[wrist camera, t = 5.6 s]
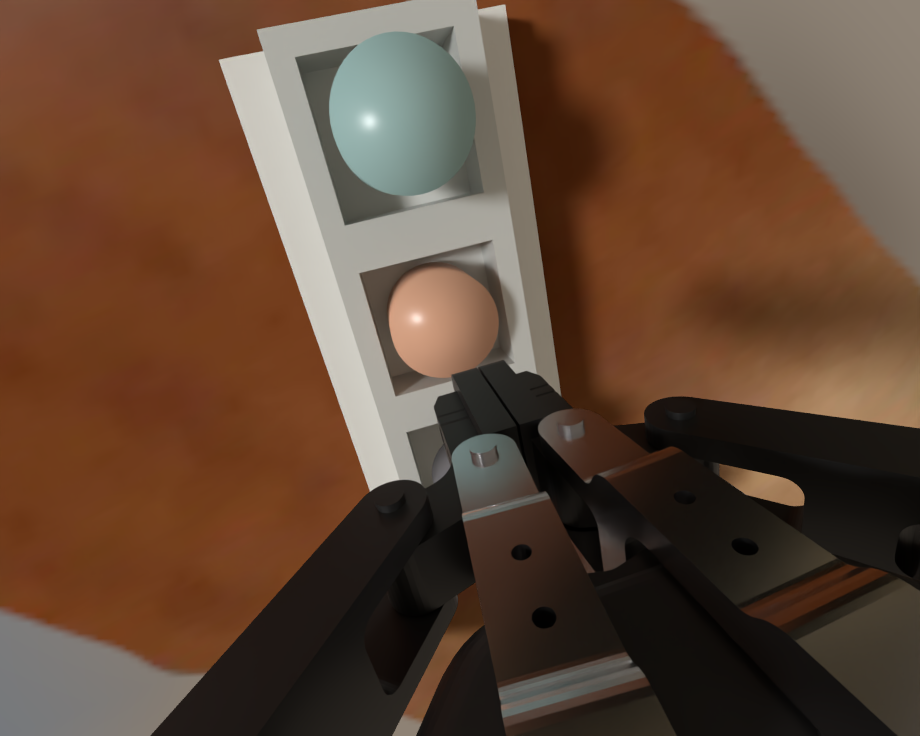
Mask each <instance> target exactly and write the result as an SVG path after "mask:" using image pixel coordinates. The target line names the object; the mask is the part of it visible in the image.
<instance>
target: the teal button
mask: <svg viewBox="0 0 920 736" xmlns="http://www.w3.org/2000/svg"><path fill="white" fill-rule="evenodd" d="M329 115H330V124H331V128H332V133H333V136H334V139H335V142H336V144H337V147H338V149H339V151H340V153H341V156H342V158H343V160H344V161H345V163H346V164H347V166H348V167H349V169H350V170H351V171H352V172H353V173H354V175H356V176H357V177H358V178H359V179H360V180H361V181H362V182H364V183H365V184H366V185H368V186H370V187H371V188H373V189H375V190H378V191H380V192H383V193H387V194H391V195H400V196H415V195H421V194H425V193H428V192H431V191H433V190H435V189H437V188H439V187H441V186H442V185H444V184H445V183H447V182H448V181H449V180H450V179H451V178H453V177H454V176H455V174H456V173H457V172H458V171H459V170H460V168H461V167H462V165H463V164H464V162H465V161H466V159H467V157H468V155H469V152H470V150H471V147H472V144H473V140H474V135H475V127H476V111H475V103H474V99H473V94H472V91H471V88H470V85H469V83H468V81H467V79H466V77H465V75H464V73H463V71H462V70H461V68H460V66H459V65H458V64H457V62H456V61H455V60H454V59H453V58H452V56H451V55H450V54H449V53H448V52H446V51H445V50H444V49H443V48H442V47H440V46H439V45H438V44H436V43H435V42H433V41H431V40H429V39H427V38H426V37H423V36H420V35H417V34H414V33H409V32H397V31H395V32H386V33H382V34H378V35H375V36H373V37H371V38H369V39H366V40H365V41H363V42H362V43H360V44H359V45H357V46H356V47H355V48H354V49H353V50H352V51H351V52H350V53H349V54H348V55H347V57H346V58H345V59H344V60H343V62H342V64H341V65H340V67H339V69H338V71H337V73H336V76H335V78H334V81H333V84H332V88H331V93H330V100H329Z"/></svg>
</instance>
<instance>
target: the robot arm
mask: <svg viewBox="0 0 920 736" xmlns="http://www.w3.org/2000/svg"><path fill="white" fill-rule="evenodd" d="M451 378H452V383H453V388H454V392H452V393H449V394H445V395H442V396H438V398H437V400H436V403H435V405H434V410H435V414H436V418H437V422H438V425H439V429H440V433H441V436H442V440H443V444H444V448H445V451H446V455H447V458H448V460H449V463H450V468H449V470H448V471H447V473H446V474H445V475H444V476H443V477H442V478H441V479H440V480H438V481H437V482H435V483H434V484H432V485H430V486H429V487H427V488H424V487H423V485H421V484H420V483H418V482H416V481H412V480H396V481H391V482H388V483H385V484H383V485H380V486H378V487H376V488H375V489H373V490H372V491H370V492H369V493H368V494H366V495H365V496H364V497H363V498H362V500H361V501H360V502H359V503H358V504H357V505H356V506H355V507H354V509H353V510H352V511H351V512H350V513H349V514H348V515H347V516H346V517H345V519H344V520H343V521H342V522H341V523H340V524H339V525H338V526H337V528H336V529H335V530H334V531H333V532H332V533H331V534H330V535H329V537H328V538H327V539H326V540H325V541H324V542H323V543H322V544H321V545H320V547H319V548H318V549H317V550H316V551H315V552H314V553H313V554H312V556H311V557H310V558H309V559H308V560H307V561H306V562H305V563H304V564H303V566H302V567H301V568H300V569H299V570H298V571H297V572H296V573H295V575H294V576H293V577H292V578H291V579H290V580H289V581H288V582H287V584H286V585H285V586H284V587H283V588H282V589H281V590H280V591H279V592H278V594H277V595H276V596H275V597H274V598H273V599H272V600H271V601H270V603H269V604H268V605H267V606H266V607H265V608H264V609H263V610H262V611H261V613H260V614H259V615H258V616H257V617H256V618H255V619H254V620H253V622H252V623H251V624H250V625H249V626H248V627H247V628H246V629H245V631H244V632H243V633H242V634H241V635H240V636H239V637H238V638H237V639H236V641H235V642H234V643H233V644H232V645H231V646H230V647H229V648H228V650H227V651H226V652H225V653H224V654H223V655H222V656H221V657H220V658H219V660H218V661H217V662H216V663H215V664H214V665H213V666H212V667H211V669H210V670H209V671H208V672H207V673H206V674H205V675H204V676H203V678H202V679H201V680H200V681H199V682H198V683H197V684H196V685H195V686H194V688H193V689H192V690H191V691H190V692H189V693H188V694H187V696H186V697H185V698H184V699H183V700H182V701H181V702H180V703H179V705H177V707H176V708H175V709H174V710H173V711H172V712H171V713H170V714H169V716H168V717H167V718H166V719H165V720H164V721H163V722H162V723H161V725H160V726H159V727H158V728H157V729H156V730H155V731H154V732H153V733H152V735H151V736H392V734H393V733H394V731H395V729H396V727H397V725H398V723H399V721H400V719H401V717H402V715H403V713H404V711H405V709H406V707H407V705H408V703H409V702H410V700H411V698H412V696H413V694H414V692H415V690H416V688H417V686H418V684H419V682H420V680H421V678H422V676H423V674H424V672H425V670H426V668H427V666H428V664H429V662H430V661H431V659H432V657H433V655H434V653H435V651H436V649H437V647H438V645H439V643H440V641H441V639H442V637H443V635H444V633H445V631H446V629H447V627H448V625H449V623H450V621H451V620H452V618H453V616H454V614H455V611H456V609H457V605H458V596H457V595H458V594H459V593H461V592H462V591H464V590H465V589H466V588H468V587H469V586H471V585H472V584H474V583H475V582H476V586H477V591H478V595H479V600H480V605H481V610H482V615H483V619H484V624H485V625H484V626H482V627H481V628H480V629H479V630H477V631H476V632H475V633H474V634H473V635H472V636H471V637H470V638H469V639H468V640H467V641H466V642H465V643H464V644H463V646H462V647H461V648H460V650H459V651H458V652H457V654H456V655H455V656H454V658H453V659H452V661H451V663H450V664H449V666H448V668H447V669H446V671H445V673H444V674H443V676H442V679H441V681H440V683H439V685H438V687H437V689H436V692H435V694H434V696H433V698H432V701H431V703H430V705H429V708H428V710H427V712H426V715H425V717H424V719H423V721H422V724H421V726H420V728H419V731H418V733H417V735H416V736H920V429H919V428H912V427H905V426H898V425H890V424H883V423H876V422H868V421H861V420H854V419H846V418H839V417H832V416H825V415H817V414H810V413H803V412H795V411H788V410H781V409H774V408H766V407H759V406H752V405H744V404H737V403H730V402H722V401H715V400H708V399H701V398H693V397H668V398H663V399H660V400H657V401H655V402H653V403H651V404H650V405H648V406H647V408H646V409H645V412H644V419H645V423H638V424H629V425H618V426H613V425H612V424H610V423H609V422H608V421H606V420H605V419H604V418H603V417H601V416H600V415H599V414H597V413H595V412H593V411H590V410H585V409H573V408H572V407H571V406H570V405H569V404H568V403H567V402H566V401H565V400H564V399H563V398H562V397H561V396H560V395H559V394H558V393H557V392H555V390H554V389H553V388H552V387H551V386H550V385H549V384H548V383H547V382H546V381H545V380H544V379H543V378H542V377H541V376H540V375H537V374H534V373H532V372H529V371H524V372H520V373H517V374H516V373H515V372H514V371H513V370H512V369H511V367H510V366H509V365H508V364H507V363H506V362H505V361H504V360H501V361H497V362H494V363H490V364H487V365H483V366H480V367H478V369H477V368H473V369H469V370H466V371H462V372H459V373H455V374H452V375H451ZM719 464H724V465H728V466H733V467H738V468H742V469H747V470H752V471H756V472H761V473H766V474H770V475H775V476H780V477H783V478H786V479H789V480H791V481H792V482H794V483H795V484H797V485H798V486H799V487H800V488H801V490H802V491H803V493H804V496H805V501H804V505H803V506H788V505H784V504H780V503H776V502H772V501H768V500H764V499H760V498H756V497H752V496H748V495H745V494H744V493H743V492H741V491H740V490H738V489H737V488H735V487H734V486H732V485H731V484H730V483H728V482H727V481H725V480H724V479H722V478H721V477H719Z"/></svg>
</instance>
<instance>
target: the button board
mask: <svg viewBox="0 0 920 736" xmlns="http://www.w3.org/2000/svg"><path fill="white" fill-rule="evenodd" d="M395 31H397V32H409V33H414V34H417V35H420V36H423V37H426V38H427V39H429V40H431V41H433V42H435V43H436V44H438V45H439V46H440V47H442V48H443V49H444V50H445V51H446V52H448V53H449V54H450V55H451V56H452V58H453V59H454V60H455V61H456V62H457V64H458V65H459V66H460V68H461V70H462V71H463V73H464V75H465V77H466V79H467V81H468V83H469V85H470V88H471V91H472V94H473V99H474V103H475V111H476V127H475V135H474V140H473V144H472V147H471V150H470V152H469V155H468V157H467V159H466V161H465V162H464V164H463V165H462V167H461V168H460V170H459V171H458V172H457V173H456V174H455V176H454V177H453V178H451V179H450V180H449V181H448V182H447V183H445V184H444V185H442V186H441V187H439V188H437V189H435V190H433V191H431V192H428V193H425V194H421V195H415V196H400V195H391V194H387V193H383V192H380V191H378V190H375V189H373V188H371V187H370V186H368V185H366V184H365V183H364V182H362V181H361V180H360V179H359V178H358V177H357V176H356V175H354V173H353V172H352V171H351V170H350V169H349V167H348V166H347V164H346V163H345V161H344V160H343V158H342V156H341V153H340V151H339V149H338V147H337V144H336V142H335V139H334V136H333V133H332V128H331V124H330V115H329V100H330V93H331V88H332V84H333V81H334V78H335V76H336V73H337V71H338V69H339V67H340V65H341V64H342V62H343V60H344V59H345V58H346V57H347V55H348V54H349V53H350V52H351V51H352V50H353V49H354V48H355V47H356V46H357V45H359V44H360V43H362V42H363V41H365V40H366V39H369V38H371V37H373V36H375V35H378V34H382V33H386V32H395ZM257 32H258V35H259V39H260V42H261V45H262V48H263V51H262V52H257V53H252V54H247V55H242V56H236V57H231V58H226V59H221V60H219V62H220V65H221V68H222V70H223V73H224V76H225V79H226V82H227V85H228V88H229V90H230V93H231V96H232V99H233V102H234V105H235V107H236V110H237V113H238V116H239V119H240V122H241V125H242V127H243V130H244V133H245V136H246V139H247V142H248V145H249V147H250V150H251V153H252V156H253V159H254V162H255V165H256V167H257V170H258V173H259V176H260V179H261V182H262V184H263V187H264V190H265V193H266V196H267V199H268V202H269V204H270V207H271V210H272V213H273V216H274V219H275V222H276V224H277V227H278V230H279V233H280V236H281V239H282V241H283V244H284V247H285V250H286V253H287V256H288V259H289V261H290V264H291V267H292V270H293V273H294V276H295V279H296V281H297V284H298V287H299V290H300V293H301V296H302V298H303V301H304V304H305V307H306V310H307V313H308V316H309V318H310V321H311V324H312V327H313V330H314V333H315V336H316V338H317V341H318V344H319V347H320V350H321V353H322V355H323V358H324V361H325V364H326V367H327V370H328V373H329V375H330V378H331V381H332V384H333V387H334V390H335V393H336V395H337V398H338V401H339V404H340V407H341V410H342V413H343V415H344V418H345V421H346V424H347V427H348V430H349V432H350V435H351V438H352V441H353V444H354V447H355V450H356V452H357V455H358V458H359V461H360V464H361V467H362V470H363V472H364V475H365V478H366V481H367V484H368V487H369V489H370V491H372V490H373V489H375V488H376V487H378V486H380V485H383V484H385V483H388V482H391V481H396V480H412V481H416V482H418V483H420V484H421V485H423V487H424V488H427V487H429V486H430V485H432V484H433V480H432V465H433V461H434V458H435V456H436V454H437V452H438V450H439V449H440V448H441V446H442V445H443V440H442V436H441V433H440V429H439V425H438V422H437V418H436V414H435V410H434V405H435V403H436V400H437V398H438V396H442V395H445V394H449V393H452V392H454V388H453V383H452V378H451V377H449V378H436V377H430V376H427V375H423V374H421V373H419V372H417V371H415V370H414V369H412V368H411V367H410V366H408V365H407V364H406V363H405V362H404V361H403V360H402V358H401V357H400V356H399V354H398V352H397V350H396V349H395V346H394V343H393V340H392V336H391V332H390V328H389V324H388V319H387V303H388V298H389V295H390V292H391V290H392V288H393V286H394V285H395V283H396V282H397V281H398V279H399V278H400V277H401V276H402V275H403V274H405V273H406V272H407V271H409V270H410V269H412V268H414V267H416V266H418V265H421V264H424V263H429V262H443V263H448V264H451V265H454V266H456V267H458V268H460V269H462V270H463V271H464V272H466V273H467V274H468V275H470V276H471V277H472V278H474V279H475V280H476V281H478V282H479V283H480V284H482V285H483V286H484V287H485V288H486V289H487V291H488V292H489V293H490V295H491V296H492V298H493V300H494V302H495V305H496V307H497V311H498V318H499V328H498V334H497V338H496V341H495V343H494V346H493V348H492V349H491V351H490V353H489V354H488V355H487V357H486V358H485V359H484V360H483V361H482V362H481V363H480V364H479V365H478V366H476V367H475V368H477V369H478V367H480V366H483V365H487V364H490V363H494V362H497V361H501V360H504V361H505V362H506V363H507V364H508V365H509V366H510V367H511V369H512V370H513V371H514V372H515V373H516V374H517V373H520V372H524V371H529V372H532V373H534V374H537V375H540V376H541V377H542V378H543V379H544V380H545V381H546V382H547V383H548V384H549V385H550V386H551V387H552V388H553V389H554V390H555V392H557V393H558V394H559V395H560V396H561V391H560V384H559V377H558V370H557V363H556V356H555V349H554V342H553V335H552V328H551V321H550V314H549V307H548V300H547V293H546V286H545V279H544V272H543V265H542V258H541V251H540V244H539V237H538V230H537V223H536V216H535V209H534V203H533V196H532V189H531V182H530V175H529V168H528V161H527V154H526V147H525V140H524V133H523V126H522V119H521V112H520V105H519V98H518V91H517V84H516V77H515V70H514V63H513V56H512V49H511V42H510V35H509V28H508V21H507V14H506V7H505V5H500V6H495V7H490V8H484V9H479V10H477V3H476V0H412V1H407V2H402V3H396V4H391V5H386V6H380V7H375V8H370V9H365V10H359V11H354V12H349V13H343V14H338V15H333V16H327V17H322V18H317V19H311V20H306V21H301V22H296V23H290V24H285V25H280V26H274V27H269V28H264V29H258V30H257Z"/></svg>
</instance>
